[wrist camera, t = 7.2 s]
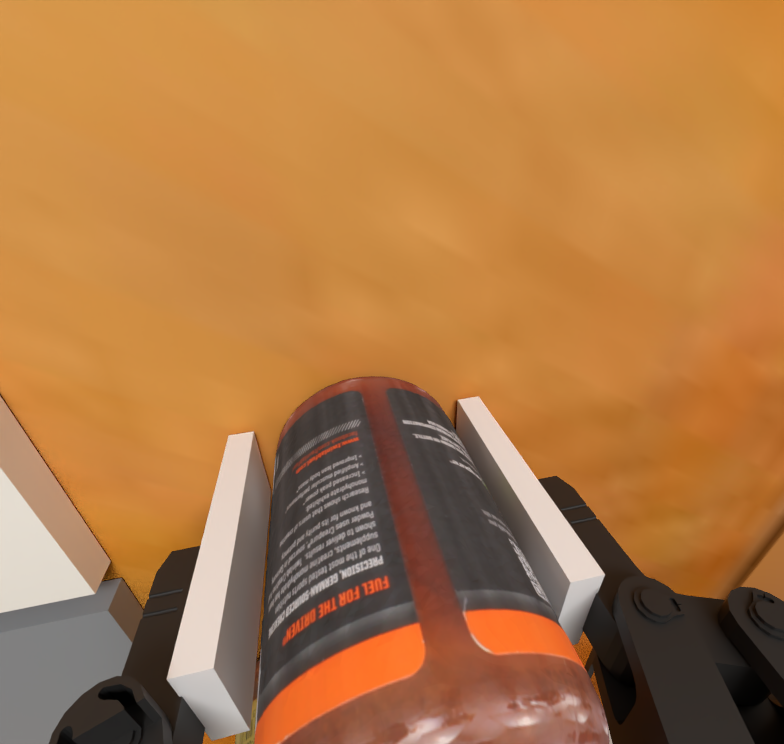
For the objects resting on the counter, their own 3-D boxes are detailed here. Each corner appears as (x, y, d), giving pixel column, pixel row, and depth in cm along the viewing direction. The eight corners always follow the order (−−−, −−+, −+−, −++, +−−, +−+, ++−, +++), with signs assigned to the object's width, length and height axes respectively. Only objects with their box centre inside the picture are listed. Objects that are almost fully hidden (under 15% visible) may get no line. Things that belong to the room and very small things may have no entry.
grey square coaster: (121, 577, 14) (107, 610, 13) (206, 704, 20) (201, 734, 19) (-283, 657, 13) (-336, 702, 12) (-67, 772, 18) (-89, 809, 17)
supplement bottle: (250, 483, 13) (115, 1331, 4) (319, 340, 11) (410, 1439, 2) (398, 516, 16) (547, 1095, 6) (478, 401, 14) (903, 1012, 4)
